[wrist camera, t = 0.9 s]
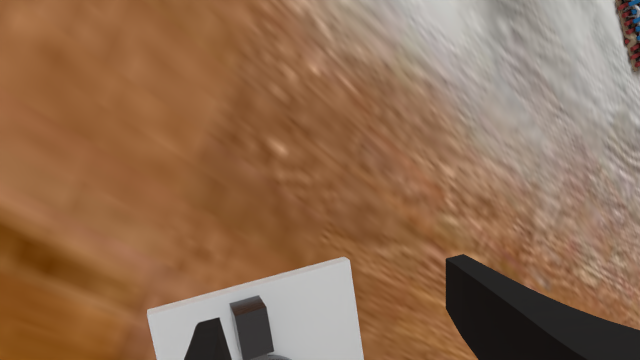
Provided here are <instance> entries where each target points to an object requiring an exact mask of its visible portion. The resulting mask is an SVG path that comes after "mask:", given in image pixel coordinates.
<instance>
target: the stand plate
mask: <svg viewBox="0 0 640 360" xmlns="http://www.w3.org/2000/svg"><path fill="white" fill-rule="evenodd" d="M258 295H259V296H260V298H261V299H262V301H263V302H264V304H265V306H266V307H267V313H268V318H269V324H270V330H271V335H272V341H273V347H274V352H271V353H268V355H280V356H284V357H287V358H289V359H292V360H364V358H363V351H362V344H361V337H360V330H359V323H358V316H357V309H356V302H355V295H354V288H353V281H352V274H351V266H350V260H349V259H347V258H346V257H341V258H337V259H333V260H329V261H326V262H322V263H318V264H315V265H311V266H307V267H304V268H300V269H296V270H292V271H289V272H285V273H281V274H278V275H274V276H270V277H267V278H263V279H259V280H255V281H252V282H248V283H244V284H241V285H237V286H233V287H229V288H226V289H222V290H218V291H215V292H211V293H207V294H204V295H200V296H196V297H192V298H189V299H185V300H181V301H178V302H174V303H170V304H166V305H163V306H159V307H155V308H152V309H148V310H147V317H148V322H149V326H150V331H151V335H152V340H153V344H154V349H155V353H156V358H157V360H184V358H185V355H186V353H187V350H188V347H189V345H190V342H191V339H192V336H193V333H194V330H195V327H196V325H197V324H198V323H199V322H202V321H206V320H210V319H214V318H218V317H219V318H220V321H221V324H222V328H223V331H224V334H225V338H226V341H227V345H228V348H229V351H230V355H231V358H232V360H242V357H241V354H240V352H239V349H238V346H237V342H236V337H235V331H234V326H233V321H232V316H231V310H230V305H229V303H233V302H236V301H240V300H243V299H247V298H250V297H254V296H258Z"/></svg>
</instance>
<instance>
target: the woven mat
mask: <svg viewBox="0 0 640 360" xmlns="http://www.w3.org/2000/svg"><path fill="white" fill-rule="evenodd" d="M615 1H616V5H617V9H618V13H619V17H620V21H621V25H622V29H623V32H624V37H625V38H627V39H625V44H627V43H628V44H627V48H628V52H629V56H630V60H631V64H632V67H633V70H634V72H635V71H638V68H637V67H639V66H640V59H639V60H638V61H637V62H636V58H637V57H640V33H639V32H640V0H625V3H624V4H622V0H615ZM625 7H626V8H625ZM624 8H625V9H624ZM627 17H629V20H628V21H627V20H626V18H627ZM636 23H637V24H636ZM630 24H631V29H629V28H628V25H630ZM638 31H639V32H638ZM636 49H637V53H635V54H634V50H636Z"/></svg>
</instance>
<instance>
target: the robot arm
mask: <svg viewBox="0 0 640 360" xmlns="http://www.w3.org/2000/svg"><path fill="white" fill-rule="evenodd" d="M446 310H447V311H448V313H449V315H450V317H451V319H452V321H453V322H454V324H455V326H456V328H457V329H458V331H459V333H460V334H461V336H462V338H463V339H464V340H465V342H466V343H467V344H468V346H469V347H470V349H471V350H472V351H473V353H474V354H475V355H476V357H477V358H478V359H479V360H640V330H637V329H634V328H630V327H627V326H624V325H621V324H617V323H614V322H611V321H608V320H605V319H602V318H599V317H596V316H593V315H591V314H588V313H585V312H583V311H580V310H577V309H575V308H572V307H570V306H567V305H565V304H562V303H560V302H558V301H556V300H553V299H551V298H549V297H547V296H544V295H542V294H540V293H538V292H536V291H534V290H532V289H530V288H527V287H525V286H523V285H521V284H519V283H518V282H516V281H514V280H512V279H510V278H508V277H506V276H504V275H502V274H500V273H498V272H496V271H495V270H493V269H491V268H489V267H487V266H485V265H483V264H482V263H480V262H478V261H476V260H474V259H472V258H470V257H468V256H466V255H464V254H462V255H458V256H454V257H450V258H447V259H446ZM184 360H232V358H231V355H230V351H229V348H228V345H227V341H226V338H225V334H224V331H223V328H222V324H221V321H220V318H219V317H218V318H214V319H210V320H206V321H202V322H199V323H198V324H197V325H196V327H195V330H194V333H193V336H192V339H191V342H190V345H189V347H188V350H187V353H186V355H185V358H184Z"/></svg>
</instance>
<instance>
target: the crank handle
mask: <svg viewBox="0 0 640 360" xmlns="http://www.w3.org/2000/svg"><path fill="white" fill-rule="evenodd" d="M229 305H230V310H231V316H232V321H233V326H234V331H235V337H236V342H237V346H238V349H239V352H240V354H241V357H242V360H292V359H289V358H287V357H284V356H280V355H268V353H271V352H274V347H273V341H272V335H271V330H270V324H269V318H268V313H267V307H266V306H265V304H264V302H263V301H262V299H261V298H260V296H259V295H258V296H254V297H250V298H247V299H243V300H240V301H236V302H233V303H229Z"/></svg>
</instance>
